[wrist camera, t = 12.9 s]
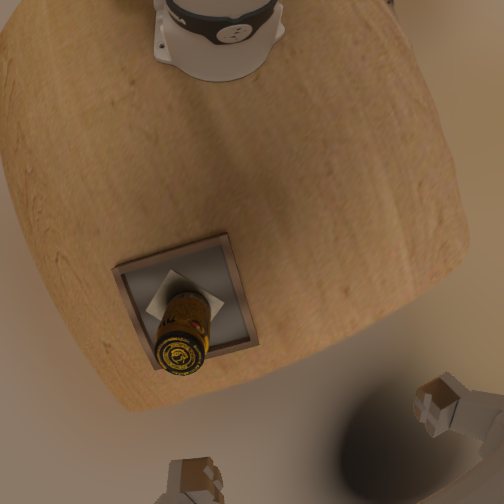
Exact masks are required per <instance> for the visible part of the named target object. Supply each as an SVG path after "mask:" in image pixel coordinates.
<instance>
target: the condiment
mask: <svg viewBox="0 0 504 504" xmlns="http://www.w3.org/2000/svg"><path fill="white" fill-rule="evenodd" d="M223 304H224V302H222V301H221V300H219V299H218V298H216V297H214V296H213V295H211V294H210V293H208V292H206V291H205V290H203V289H202V288H200V287H198V286H197V285H195V284H193V283H191V282H190V281H189V280H187V279H185V278H184V277H182V276H181V275H179V274H177V273H176V272H174V271H173V270H170V271H169V273H168V275H167V276H166V278H165V279H164V281H163V283H162V284H161V286H160V288H159V289H158V291H157V293H156V294H155V296H154V298H153V299H152V301H151V303H150V304H149V306H148V308H147V309H146V312H148V313H149V314H151V315H153V316H154V317H156V318H157V319H159V320H161V322H160V324H159V327H158V330H157V333H156V344H155V348H154V353H155V359H156V360H157V362H158V363H159V364H160V366H161V367H162V368H163V369H165V370H166V371H168V372H170V373H172V374H174V375H182V376H184V375H189V374H192V373H194V372H196V371H197V370H198V369H199V368H200V367H201V366H202V364H203V363H204V359H205V354H206V353H207V351H208V348H209V342H210V325H211V321H212V319H213V318H214V317H215V315H216V314H217V313H218V311H219V310H220V308H221V307H222V306H223Z"/></svg>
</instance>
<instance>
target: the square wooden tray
mask: <svg viewBox="0 0 504 504" xmlns="http://www.w3.org/2000/svg"><path fill="white" fill-rule="evenodd" d="M111 270H112V272H113V275H114V278H115V281H116V283H117V286H118V289H119V291H120V294H121V296H122V299H123V301H124V304H125V306H126V309H127V311H128V314H129V316H130V319H131V321H132V323H133V326H134V328H135V330H136V332H137V335H138V337H139V339H140V341H141V343H142V346H143V348H144V350H145V352H146V354H147V356H148V358H149V360H150V362H151V364H152V366H153V368H154V370H158V369H163V368H162V367H161V366H160V364H159V363H158V362H157V360H156V359H155V353H154V348H155V344H156V333H157V330H158V327H159V324H160V322H161V320H159V319H157V318H156V317H154V316H153V315H151V314H149V313H148V312H146V309H147V308H148V306H149V304H150V303H151V301H152V299H153V298H154V296H155V294H156V293H157V291H158V289H159V288H160V286H161V284H162V283H163V281H164V279H165V278H166V276H167V275H168V273H169V271H170V270H173V271H174V272H176V273H177V274H179V275H181V276H182V277H184V278H185V279H187V280H189V281H190V282H191V283H193V284H195V285H197V286H198V287H200V288H202V289H203V290H205V291H206V292H208V293H210V294H211V295H213V296H214V297H216V298H218V299H219V300H221V301H222V302H224V304H223V306H222V307H221V308H220V310H219V311H218V313H217V314H216V315H215V317H214V318H213V319H212V321H211V325H210V342H209V348H208V351H207V353H206V354H205V359H208V358H212V357H216V356H220V355H224V354H228V353H232V352H236V351H239V350H243V349H247V348H250V347H254V346H257V345H260V344H259V341H258V337H257V334H256V330H255V327H254V324H253V320H252V317H251V314H250V310H249V307H248V304H247V300H246V297H245V294H244V290H243V287H242V283H241V280H240V277H239V273H238V270H237V266H236V263H235V259H234V256H233V252H232V249H231V245H230V242H229V238H228V235H227V232H226V233H222V234H219V235H215V236H212V237H208V238H205V239H201V240H198V241H195V242H191V243H188V244H184V245H181V246H178V247H174V248H171V249H168V250H164V251H161V252H158V253H154V254H151V255H148V256H145V257H141V258H138V259H135V260H132V261H128V262H125V263H122V264H119V265H116V266H115V267H114V268H112V269H111Z"/></svg>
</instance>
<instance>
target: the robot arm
mask: <svg viewBox="0 0 504 504" xmlns="http://www.w3.org/2000/svg"><path fill="white" fill-rule="evenodd" d="M154 9H155V11H156V24H155V39H154V57H155V59H156V60H157V61H158V62H161V63H165V64H171V65H174V66H176V67H178V68H179V69H181V70H182V71H183V72H185V73H186V74H188V75H190V76H192V77H195V78H197V79H201V80H205V81H214V82H222V81H230V80H235V79H238V78H241V77H244V76H246V75H248V74H250V73H252V72H253V71H255V70H256V69H257V68H259V67H260V66H261V65H262V64H263V63H264V61H265V60H266V58H267V57H268V55H269V52H270V50H271V47H272V46H273V44H274V43H276V42H277V41H278V40H279V39H281V38H282V37H283V35H284V32H285V28H284V26H283V25H282V23H281V22H280V20H281V16H282V12H283V5H282V4H280V3H279V0H154ZM162 46H165V47H164V48H160V47H162ZM415 396H416V397H417V399H416V400H415V402H414V406H413V409H414V413H415V415H416V417H417V419H418V420H419V421H420V422H423V423H425V429H426V430H427V431H428V433H429V434H430V435H431V436H432V438H434V437H436V436H437V435H439V434H441V433H442V432H444V431H446V430H448V429H449V428H450V430H452V431H455V432H458V433H461V434H464V435H467V436H469V437H472V438H475V439H478V440H481V441H484V442H483V444H482V446H481V447H480V449H479V454H480V456H481V457H482V458H483V460H482V461H481V462H479V463H478V464H477V465H476V466H474V467H473V468H472V469H470V470H469V471H468V472H466V473H465V474H463V475H462V476H461V477H459V478H458V479H457V480H455V481H453V482H452V483H450V484H449V485H447V486H446V487H444V488H443V489H441V490H439V491H438V492H436V493H434V494H433V495H431V496H429V497H428V498H426V499H424V500H423V501H421V502H419V503H417V504H504V395H499V394H493V393H487V392H481V391H475V390H472V391H471V392H470V391H469V390H468V389H467V388H466V387H465V386H464V385H462V384H461V383H460V382H459V381H458V380H457V379H456V378H455V377H454V376H452V375H451V374H450V373H449V372H445V373H443V374H442V375H440V376H439V377H437V378H435V379H433V380H431V381H429V382H428V383H426V384H424V385H422V386H420V387H419V388H417V390H416V392H415ZM222 488H223V480H222V476H221V473H220V471H219V469H218V467H216V466H214V465H213V460H212V459H211V457H202V458H193V459H182V460H171V462H170V464H169V471H168V481H167V492H166V494H162V495H161V496H160V497H159V499H158V500H157V501H156V502H155V503H154V504H224V495H223V494H222V493H221V492H220V491H221V489H222Z"/></svg>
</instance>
